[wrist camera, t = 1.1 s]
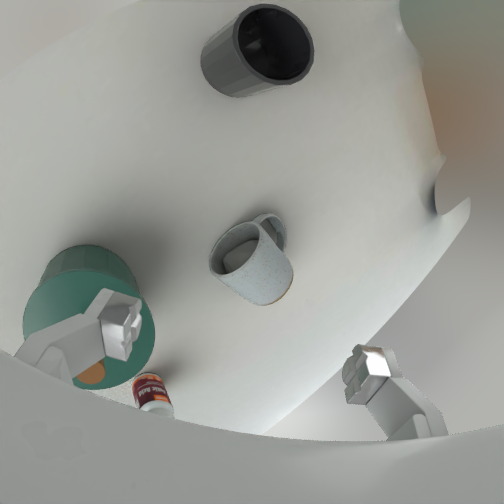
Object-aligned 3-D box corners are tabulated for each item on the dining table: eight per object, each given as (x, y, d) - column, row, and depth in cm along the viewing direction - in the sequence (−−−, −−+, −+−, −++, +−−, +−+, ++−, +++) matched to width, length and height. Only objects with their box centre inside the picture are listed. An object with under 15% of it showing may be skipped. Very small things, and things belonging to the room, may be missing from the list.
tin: (25, 306, 28) (12, 347, 21) (73, 223, 29) (64, 246, 22) (105, 352, 35) (112, 397, 27) (155, 281, 35) (172, 315, 28)
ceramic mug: (242, 295, 41) (271, 321, 35) (199, 261, 37) (224, 286, 31) (290, 235, 42) (327, 251, 36) (254, 196, 38) (290, 206, 32)
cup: (184, 60, 28) (212, 34, 21) (236, 18, 29) (274, -9, 21) (237, 112, 33) (278, 103, 26) (282, 68, 34) (328, 54, 26)
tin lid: (7, 344, 21) (-5, 386, 16) (64, 236, 22) (54, 261, 16) (113, 397, 28) (122, 440, 23) (177, 311, 29) (198, 347, 24)
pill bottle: (161, 369, 39) (178, 411, 32) (163, 393, 41) (180, 434, 34) (128, 374, 37) (140, 417, 30) (133, 397, 38) (145, 440, 31)
